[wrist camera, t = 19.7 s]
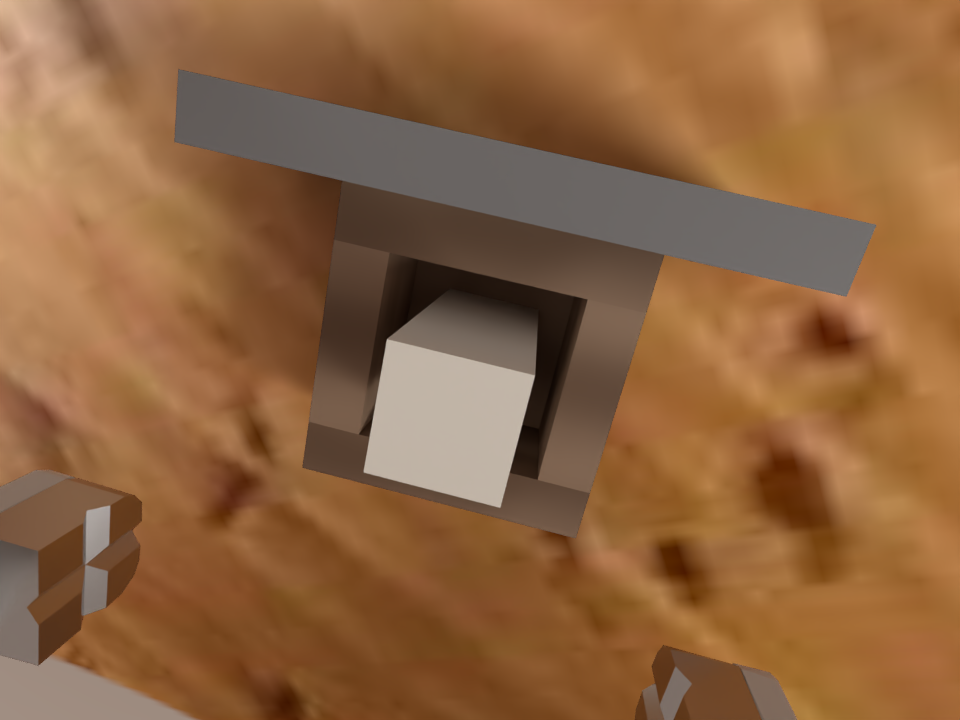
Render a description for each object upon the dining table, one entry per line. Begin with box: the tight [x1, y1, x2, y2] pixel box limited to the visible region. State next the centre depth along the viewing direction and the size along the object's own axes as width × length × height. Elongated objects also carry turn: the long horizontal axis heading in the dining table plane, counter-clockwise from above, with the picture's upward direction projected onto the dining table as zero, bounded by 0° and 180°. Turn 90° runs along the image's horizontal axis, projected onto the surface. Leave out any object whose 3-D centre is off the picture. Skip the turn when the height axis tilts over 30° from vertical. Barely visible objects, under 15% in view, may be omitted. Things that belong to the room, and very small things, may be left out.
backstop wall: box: [175, 69, 876, 296], centre depth 19 cm, size 2×20×8 cm, turn 78°
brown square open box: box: [303, 181, 664, 538], centre depth 22 cm, size 11×11×6 cm
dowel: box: [364, 289, 539, 508], centre depth 19 cm, size 4×4×10 cm
